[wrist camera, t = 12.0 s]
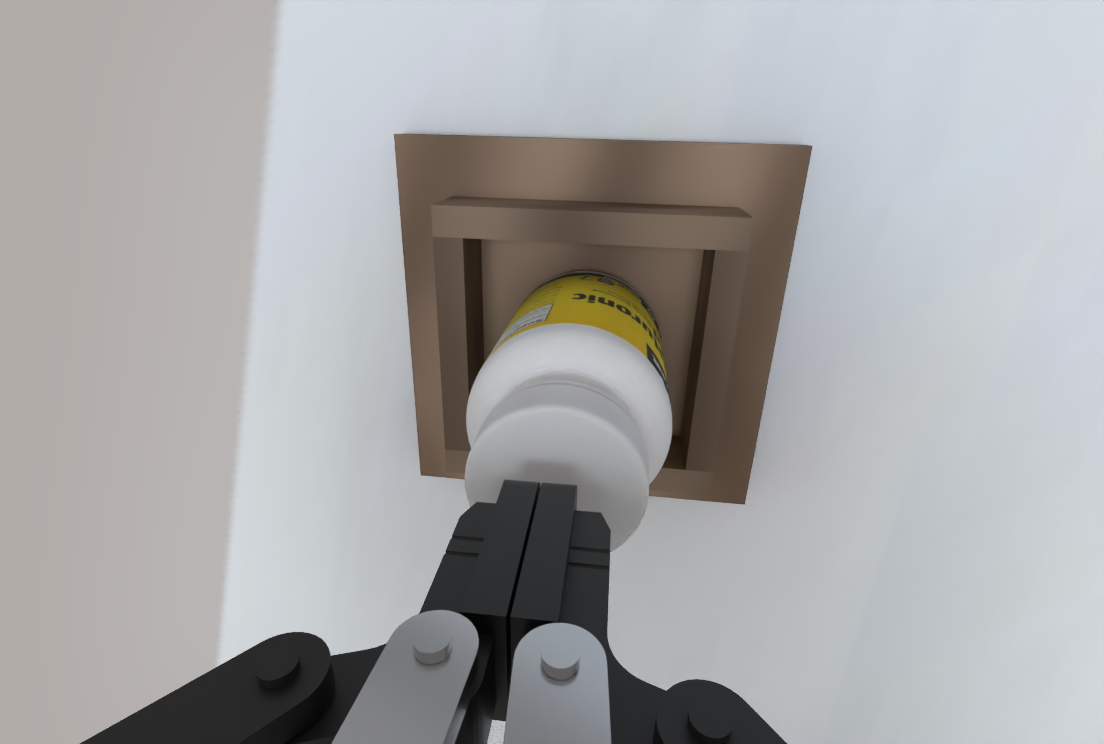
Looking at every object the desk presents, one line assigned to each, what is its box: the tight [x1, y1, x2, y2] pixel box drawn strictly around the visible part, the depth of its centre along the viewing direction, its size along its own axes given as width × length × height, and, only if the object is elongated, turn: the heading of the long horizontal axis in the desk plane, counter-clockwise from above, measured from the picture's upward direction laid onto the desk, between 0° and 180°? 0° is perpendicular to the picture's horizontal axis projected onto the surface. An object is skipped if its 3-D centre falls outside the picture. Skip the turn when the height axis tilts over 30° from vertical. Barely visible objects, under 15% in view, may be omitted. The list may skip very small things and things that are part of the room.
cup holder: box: [394, 134, 812, 504], centre depth 21 cm, size 14×14×4 cm
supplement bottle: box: [465, 271, 672, 552], centre depth 17 cm, size 6×6×10 cm
